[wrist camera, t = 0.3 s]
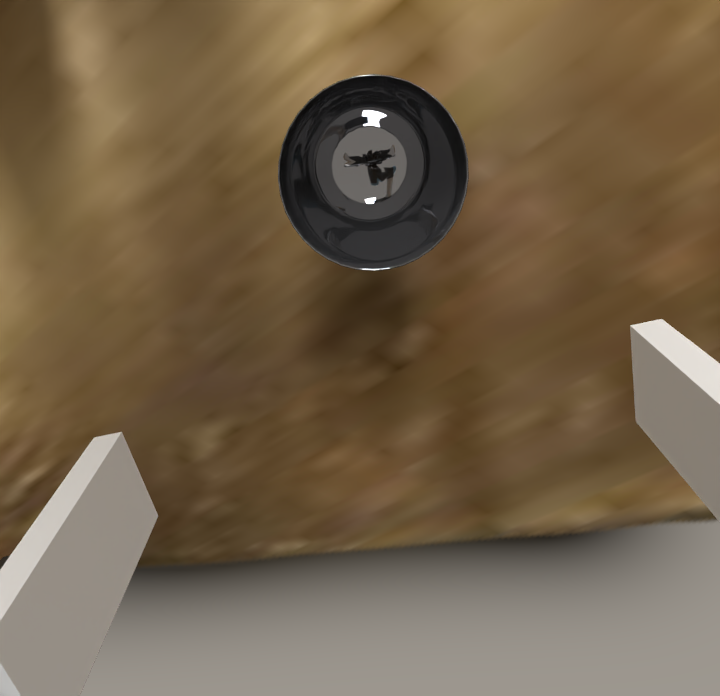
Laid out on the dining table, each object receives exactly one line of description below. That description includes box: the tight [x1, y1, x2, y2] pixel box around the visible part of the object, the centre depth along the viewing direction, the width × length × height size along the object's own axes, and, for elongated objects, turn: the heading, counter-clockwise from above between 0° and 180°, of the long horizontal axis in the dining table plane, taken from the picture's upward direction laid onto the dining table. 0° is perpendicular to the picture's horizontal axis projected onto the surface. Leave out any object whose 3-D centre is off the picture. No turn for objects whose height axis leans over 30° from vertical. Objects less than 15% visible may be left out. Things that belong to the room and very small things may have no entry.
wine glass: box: [278, 74, 468, 271], centre depth 33 cm, size 8×8×15 cm
